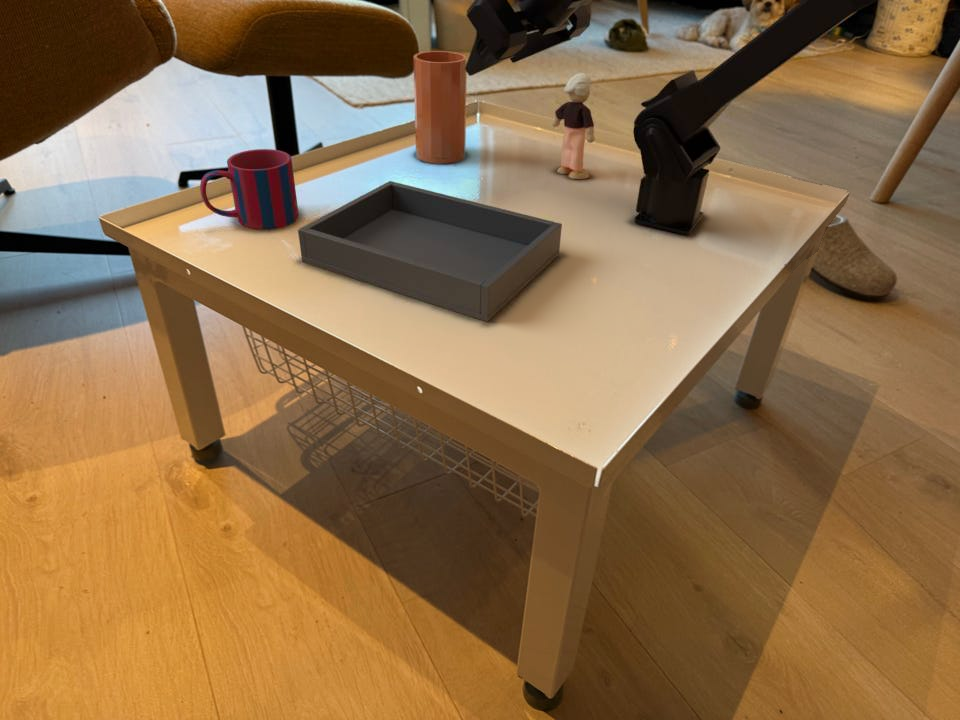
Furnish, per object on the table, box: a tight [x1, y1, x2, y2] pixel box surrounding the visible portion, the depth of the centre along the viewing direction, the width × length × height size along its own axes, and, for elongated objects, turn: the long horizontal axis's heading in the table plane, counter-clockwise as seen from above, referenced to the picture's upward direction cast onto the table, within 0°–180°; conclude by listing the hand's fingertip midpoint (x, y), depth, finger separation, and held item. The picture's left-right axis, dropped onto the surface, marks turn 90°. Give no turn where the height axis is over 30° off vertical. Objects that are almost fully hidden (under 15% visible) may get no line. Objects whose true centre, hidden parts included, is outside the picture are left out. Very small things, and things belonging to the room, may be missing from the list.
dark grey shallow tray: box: [297, 180, 563, 323], centre depth 71 cm, size 22×16×4 cm
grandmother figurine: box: [551, 72, 596, 180], centre depth 90 cm, size 8×4×13 cm, turn 46°
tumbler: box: [412, 50, 468, 165], centre depth 94 cm, size 7×7×13 cm
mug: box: [199, 148, 300, 231], centre depth 76 cm, size 7×10×7 cm
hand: (490, 65), depth 86 cm, fingers open, 9 cm apart
